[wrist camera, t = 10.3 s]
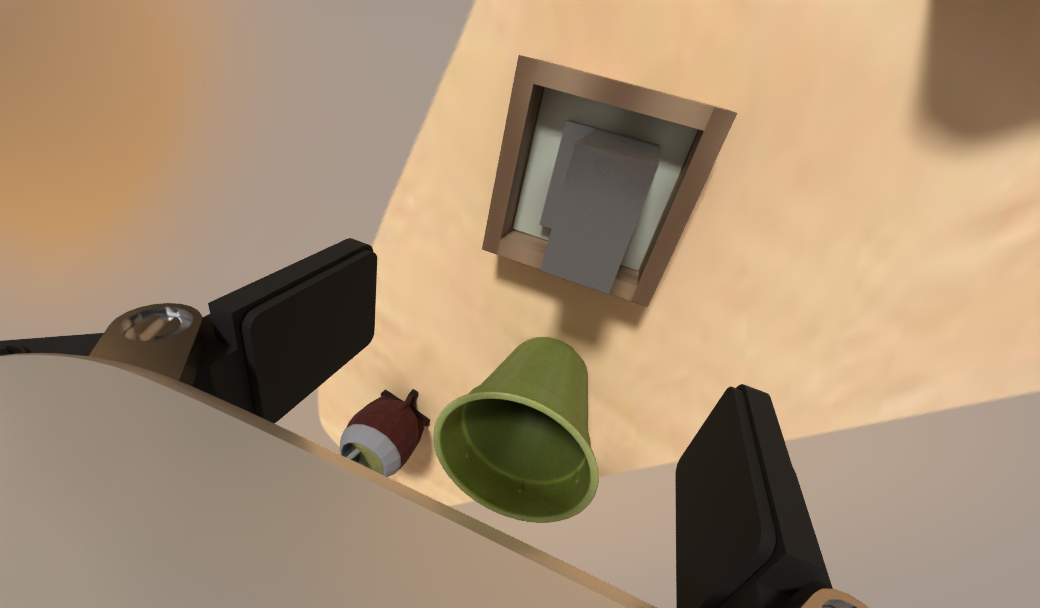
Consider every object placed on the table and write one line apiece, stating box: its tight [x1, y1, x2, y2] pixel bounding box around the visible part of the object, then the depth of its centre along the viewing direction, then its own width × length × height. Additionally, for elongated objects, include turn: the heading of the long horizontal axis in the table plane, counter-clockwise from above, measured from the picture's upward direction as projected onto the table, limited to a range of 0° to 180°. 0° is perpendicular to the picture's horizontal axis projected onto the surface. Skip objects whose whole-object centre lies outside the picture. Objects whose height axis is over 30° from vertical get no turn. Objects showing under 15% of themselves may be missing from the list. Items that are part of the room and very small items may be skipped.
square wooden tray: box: [482, 55, 737, 307], centre depth 27 cm, size 12×12×4 cm
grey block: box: [539, 120, 660, 294], centre depth 24 cm, size 6×7×8 cm
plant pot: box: [434, 337, 598, 523], centre depth 33 cm, size 12×12×11 cm
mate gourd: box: [340, 389, 430, 477], centre depth 40 cm, size 8×8×15 cm
